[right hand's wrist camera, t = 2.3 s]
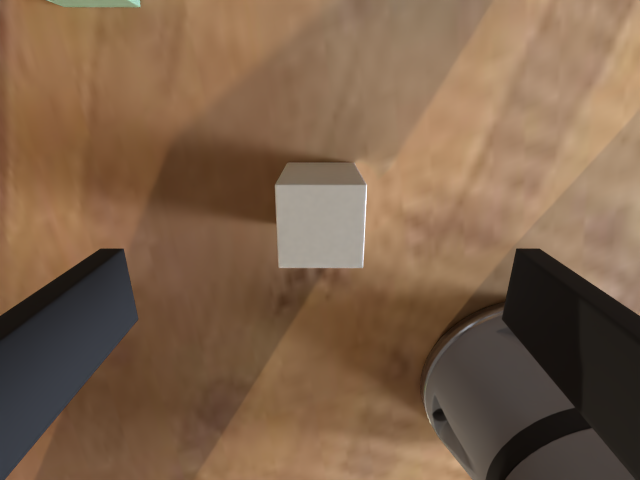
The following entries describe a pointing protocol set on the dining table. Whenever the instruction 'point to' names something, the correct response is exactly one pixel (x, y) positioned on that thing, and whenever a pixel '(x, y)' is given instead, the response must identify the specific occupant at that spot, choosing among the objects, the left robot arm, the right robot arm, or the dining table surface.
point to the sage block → (97, 3)
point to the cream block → (320, 215)
